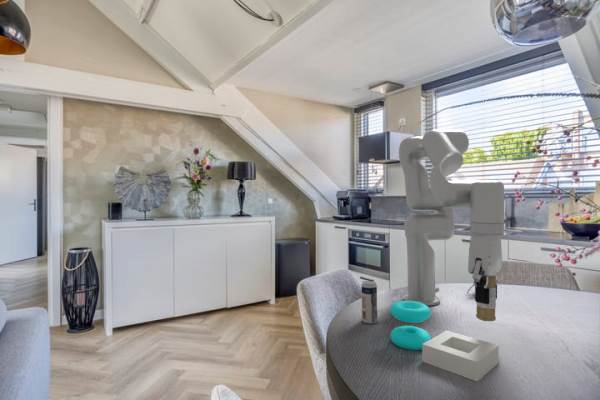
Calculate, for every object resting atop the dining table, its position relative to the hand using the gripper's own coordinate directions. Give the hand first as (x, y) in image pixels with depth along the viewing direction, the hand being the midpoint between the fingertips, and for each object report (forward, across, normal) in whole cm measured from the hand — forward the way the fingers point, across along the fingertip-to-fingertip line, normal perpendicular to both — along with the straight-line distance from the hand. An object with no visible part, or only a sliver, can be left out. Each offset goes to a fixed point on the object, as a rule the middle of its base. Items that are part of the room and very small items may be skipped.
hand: (486, 299), depth 87 cm
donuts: (+12, +14, -13) cm, 22 cm away
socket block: (+11, +15, 0) cm, 18 cm away
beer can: (+12, +9, -30) cm, 34 cm away
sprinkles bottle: (+5, 0, 0) cm, 5 cm away
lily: (+13, -47, -20) cm, 53 cm away
